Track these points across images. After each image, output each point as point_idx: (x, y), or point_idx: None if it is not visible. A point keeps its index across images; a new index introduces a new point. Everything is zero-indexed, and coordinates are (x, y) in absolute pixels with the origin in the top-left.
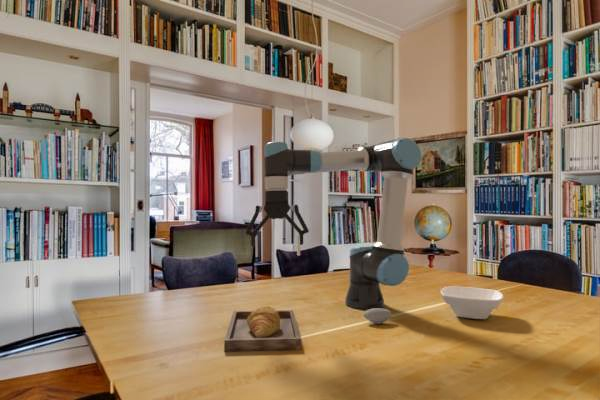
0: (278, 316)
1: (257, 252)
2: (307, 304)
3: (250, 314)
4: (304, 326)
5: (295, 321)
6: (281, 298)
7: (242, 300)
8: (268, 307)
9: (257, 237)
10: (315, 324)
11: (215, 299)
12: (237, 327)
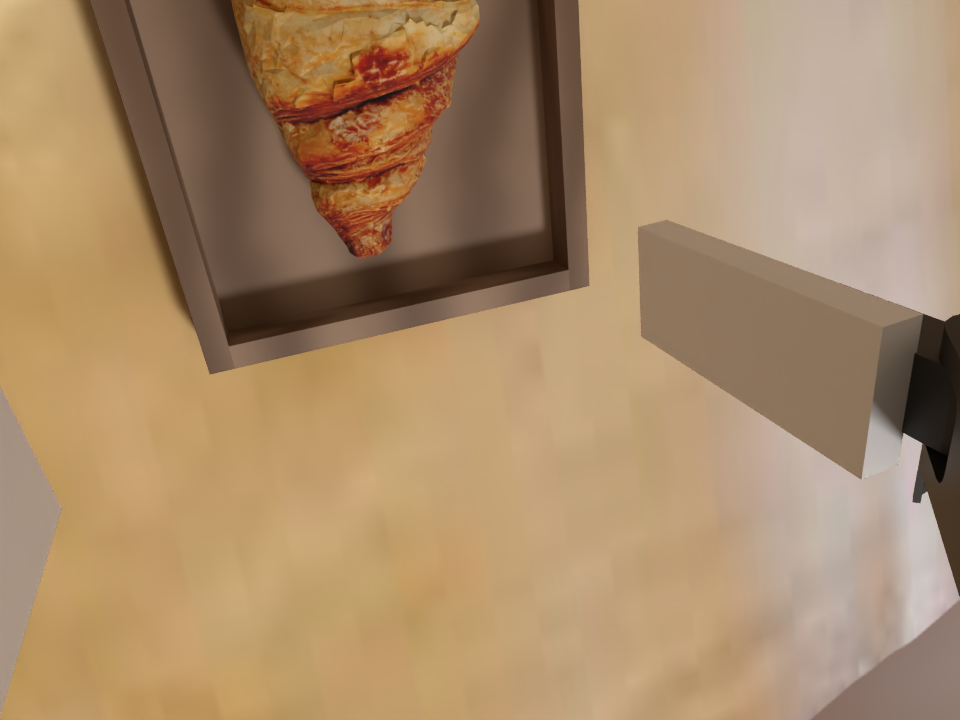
0: (247, 9)
1: (679, 242)
2: (181, 660)
3: (466, 5)
4: (86, 197)
5: (120, 79)
6: (367, 716)
7: (566, 618)
8: (348, 72)
9: (866, 319)
10: (11, 255)
11: (692, 595)
12: (521, 63)
